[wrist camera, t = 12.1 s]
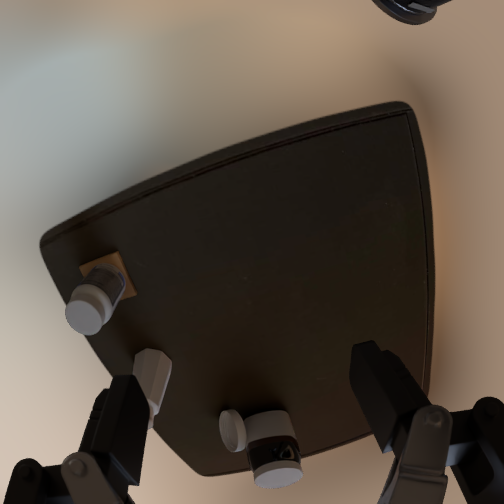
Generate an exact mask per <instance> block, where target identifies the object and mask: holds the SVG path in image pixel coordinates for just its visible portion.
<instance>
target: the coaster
mask: <svg viewBox="0 0 504 504" xmlns="http://www.w3.org/2000/svg"><path fill="white" fill-rule="evenodd" d="M101 263H108V264H112V265H114V266H116V267H117V268H118V269H119V270H120V271H121V272H122V273H123V275H124V278H125V282H126V287H125V291H124V293H123V295H122V297H121V299H120V300H122V299H125V298H128V297H132V296H135V295H137V293H138V292H137V290H136V288H135V286H134V284H133V282H132V280H131V278H130V276H129V274H128V271H127V269H126V267H125V265H124V263H123V261H122V258H121V256H120V254H119V252H118V251H116V252H113V253H111V254H108V255H106V256H103V257H100V258H98V259H95V260H93V261H90V262H88V263H85V264H83V265H80V266H79V268H80V270H81V273H82V275H83V277H84V278H85V277H86V275H87V274H88V273H89V272H90V271H91V269H92V268H94V267H95V266H96V265H98V264H101Z"/></svg>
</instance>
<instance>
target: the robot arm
mask: <svg viewBox="0 0 504 504" xmlns="http://www.w3.org/2000/svg"><path fill="white" fill-rule="evenodd" d="M388 1H389V2H391V3H392V4H393V5H394V6H396V7H397V8H399V9H401V10H402V11H405V12H407V13H410V14H414V15H421V14H424V13H426V12H428V13H430V12H433V11H435V10H433V8H435V7H437V6H440V5H442V4H444V3H447V2H449V1H451V0H388ZM349 379H350V384H351V387H352V390H353V392H354V394H355V396H356V398H357V400H358V402H359V404H360V406H361V409H362V411H363V413H364V415H365V417H366V419H367V421H368V423H369V425H370V427H371V430H372V432H373V434H374V436H375V438H376V440H377V442H378V444H379V447H380V449H381V451H382V453H386V452H389V451H392V450H393V452H394V455H395V458H394V461H393V464H392V467H391V470H390V472H389V475H388V478H387V481H386V483H385V486H384V488H383V491H382V494H381V496H380V499H379V501H378V503H377V504H443V499H444V496H445V492H446V488H447V483H448V477H447V475H445V474H444V473H445V467H446V466H450V467H451V469H452V471H453V474H454V476H455V478H456V480H457V482H458V484H459V486H460V488H461V491H462V493H463V495H464V497H465V499H466V502H467V504H504V404H503V403H502V402H501V401H500V400H499V399H497V398H494V397H484V398H481V399H480V400H478V401H477V402H476V404H475V405H474V407H473V409H470V410H464V411H457V412H449V411H448V410H447V409H445V408H444V407H442V406H438V405H432V404H431V403H430V401H429V400H428V398H427V397H426V395H425V394H424V392H423V391H422V389H421V388H420V386H419V385H418V384H417V382H416V381H415V379H414V378H413V376H411V374H410V372H409V371H408V369H407V368H405V365H404V364H403V362H402V361H401V360H400V358H399V357H398V356H396V355H395V354H393V353H392V352H390V351H389V350H385V351H381V350H380V349H379V347H378V346H377V344H376V343H375V342H374V341H373V340H371V341H367V342H363V343H359V344H354V345H353V347H352V354H351V363H350V372H349ZM89 418H90V419H89V420H88V423H87V426H86V429H85V432H84V435H83V438H82V441H81V444H80V447H79V450H78V452H76V453H72V454H71V455H69V456H67V457H66V458H65V460H64V461H63V463H62V464H61V465H53V466H46V467H42V466H41V465H40V464H39V463H38V462H37V461H36V460H34V459H31V458H26V459H23V460H21V461H19V462H18V463H17V464H16V466H15V467H14V469H13V472H12V475H11V478H10V481H9V485H8V488H7V492H6V495H5V499H4V503H3V504H135V503H134V501H133V500H132V498H131V497H130V495H129V494H128V486H129V485H135V486H139V483H140V476H141V468H142V461H143V454H144V448H145V441H146V436H147V430H148V424H149V418H150V408H149V403H148V401H147V399H146V397H145V395H144V393H143V390H142V388H141V386H140V384H139V382H138V380H137V378H136V376H135V375H115V376H114V377H113V379H112V382H111V385H110V388H109V389H103V391H102V392H101V393H100V394H99V395H98V396H97V398H96V400H95V403H94V405H93V411H91V414H90V417H89Z"/></svg>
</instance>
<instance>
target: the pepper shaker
mask: <svg viewBox="0 0 504 504" xmlns="http://www.w3.org/2000/svg"><path fill="white" fill-rule="evenodd" d="M171 365H172V361H171V360H170V359H169V358H168V357H167V356H166V355H165V354H164V353H163V352H162V351H160V350H154V349H149V348H146V349H144V350H142V351H141V352H139V353H137V354H136V355H135V361H134V367H133V374H132V375H135V376H136V378H137V380H138V382H139V384H140V386H141V388H142V390H143V393H144V395H145V397H146V399H147V401H148V403H149V408H150V418H149V424H148V429H150V428H152V427H153V419H154V415H156V414H158V412H159V409H160V406H161V403H162V399H163V396H164V393H165V390H166V386H167V383H168V380H169V377H170V373H171Z"/></svg>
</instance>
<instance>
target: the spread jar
mask: <svg viewBox="0 0 504 504" xmlns="http://www.w3.org/2000/svg"><path fill="white" fill-rule="evenodd" d="M219 428H220V433H221V437H222V440H223V442H224V444H225V446H226V448H227V449H228V450H229V451H230V452H237V451H242V450H243V449H244V448H245V446H246V451H247V457H248V462H249V465H250V468H251V470H252V471H253V473H254V481H255V484H256V485H257V486H259V487H262V488H281V487H285V486H288V485H291V484H293V483H295V482H297V481H298V480H300V479H301V477H302V476H303V472H302V469H301V465H300V463H301V455H300V450H299V446H298V443H297V439H296V436H295V432H294V428H293V425H292V421H291V419H290V416H289V414H288V413H287V412H286V411H285V410H283V409H278V408H269V409H262V410H259V411H256V412H254V413H252V414H250V415H248V416H247V417H246V418H245V419H244V422H243V420H242V418H241V416H240V415H239V413H238V412H237V411H235V410H233V409H232V410H225V411H222V412H221V414H220V418H219Z"/></svg>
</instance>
